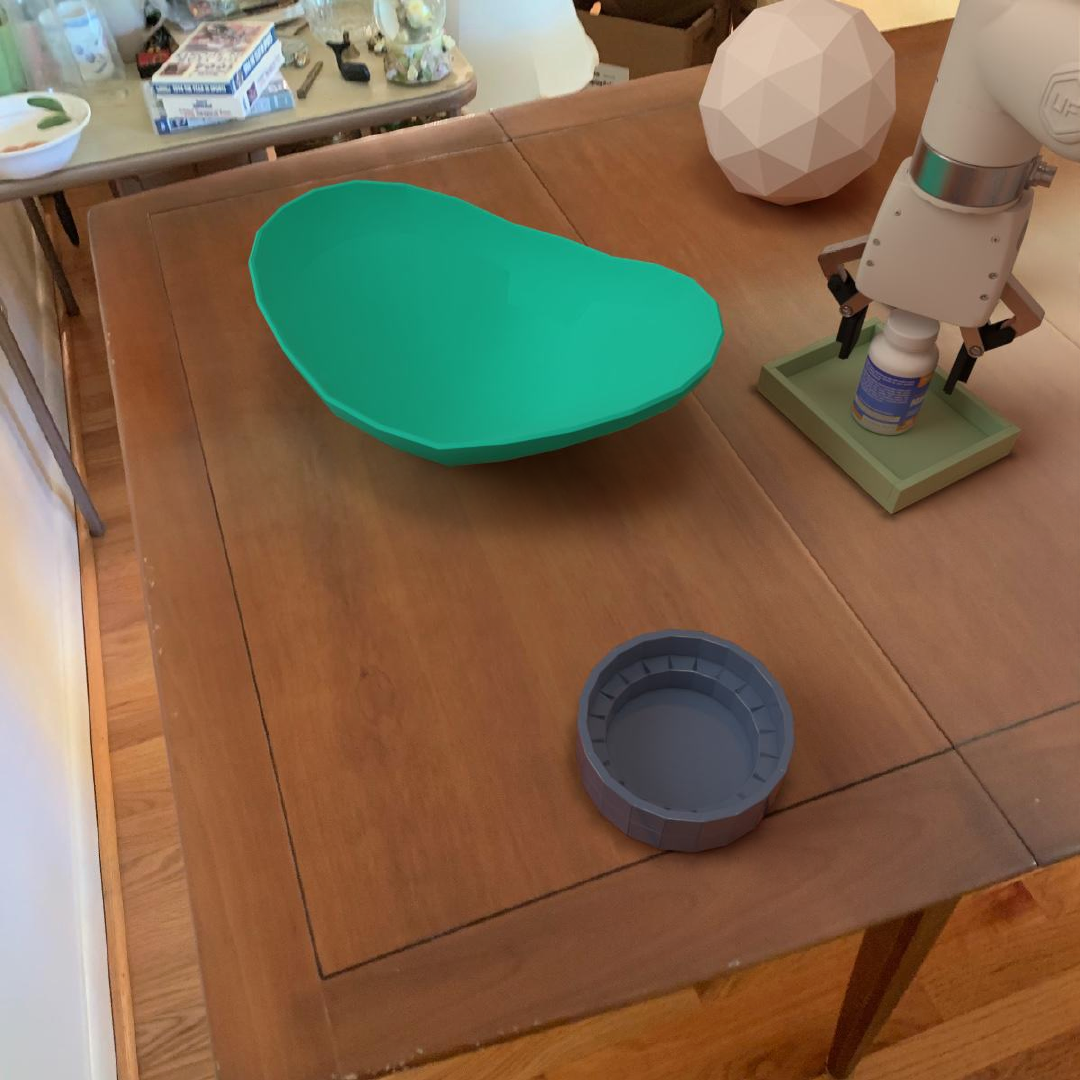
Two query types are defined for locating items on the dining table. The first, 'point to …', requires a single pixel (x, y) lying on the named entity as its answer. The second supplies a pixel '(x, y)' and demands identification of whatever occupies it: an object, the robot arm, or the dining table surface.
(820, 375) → the tray
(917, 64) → the dining table surface
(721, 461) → the dining table surface
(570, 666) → the dining table surface
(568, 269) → the table top decor
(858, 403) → the pill bottle
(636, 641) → the bowl
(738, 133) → the ball
